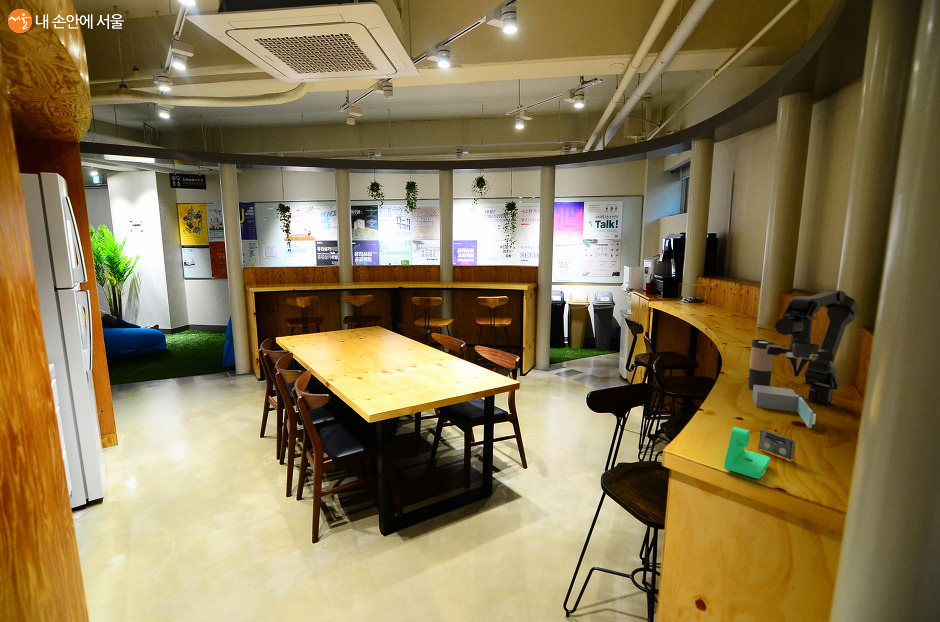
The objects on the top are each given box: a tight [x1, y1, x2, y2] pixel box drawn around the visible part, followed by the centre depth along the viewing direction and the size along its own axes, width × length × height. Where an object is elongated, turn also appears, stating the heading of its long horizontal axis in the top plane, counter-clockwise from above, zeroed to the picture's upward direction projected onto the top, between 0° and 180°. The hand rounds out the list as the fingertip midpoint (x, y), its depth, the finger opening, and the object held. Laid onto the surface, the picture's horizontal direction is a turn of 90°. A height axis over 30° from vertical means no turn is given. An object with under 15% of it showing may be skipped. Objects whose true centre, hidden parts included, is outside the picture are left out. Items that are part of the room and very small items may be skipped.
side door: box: [796, 397, 817, 429], centre depth 145 cm, size 16×2×5 cm, turn 154°
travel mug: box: [747, 339, 775, 391], centre depth 177 cm, size 8×8×20 cm
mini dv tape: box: [758, 429, 796, 460], centre depth 120 cm, size 8×2×6 cm, turn 26°
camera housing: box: [751, 385, 805, 413], centre depth 159 cm, size 14×10×6 cm
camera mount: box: [723, 426, 771, 479], centre depth 112 cm, size 12×8×10 cm, turn 135°
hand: (796, 376), depth 155 cm, fingers closed
